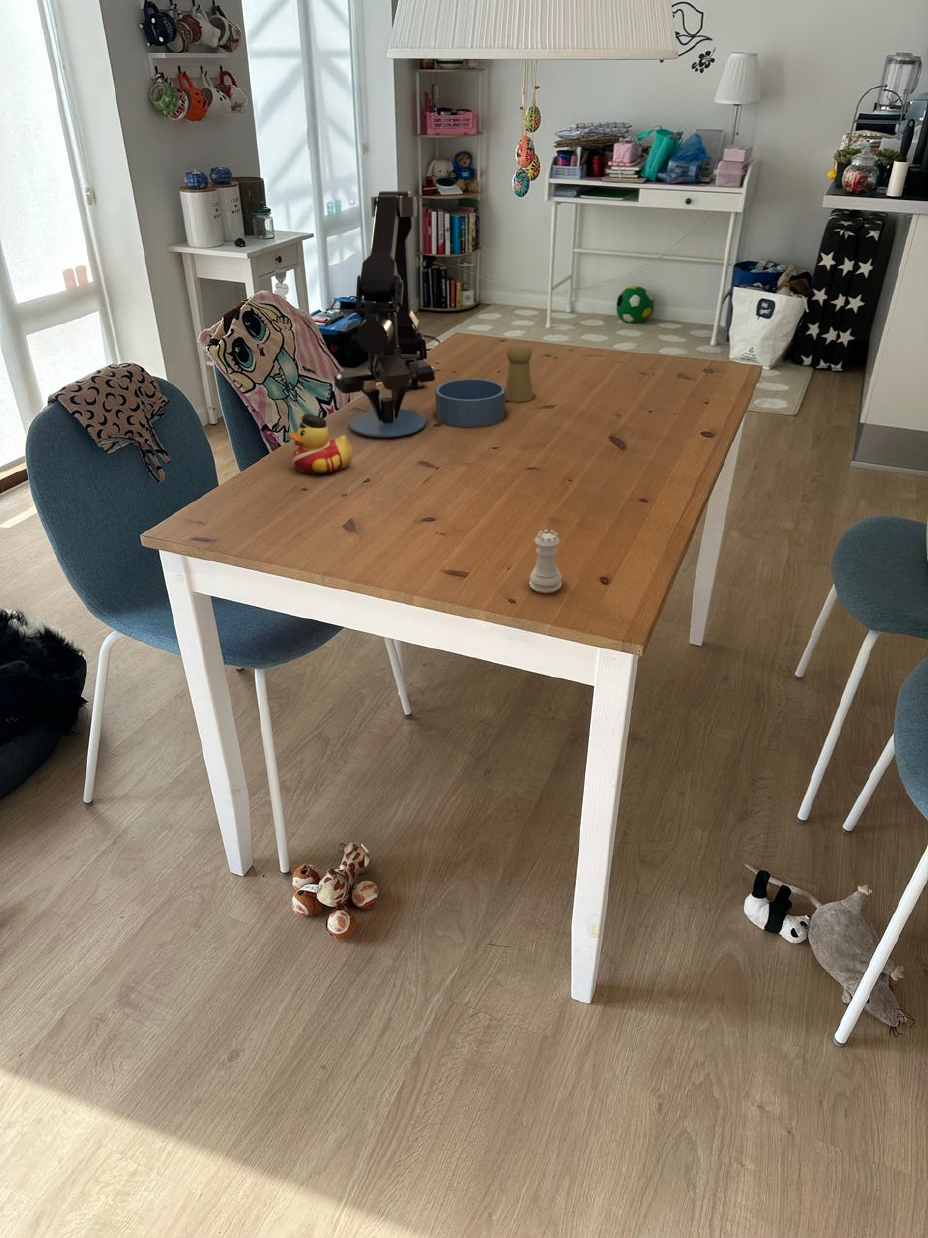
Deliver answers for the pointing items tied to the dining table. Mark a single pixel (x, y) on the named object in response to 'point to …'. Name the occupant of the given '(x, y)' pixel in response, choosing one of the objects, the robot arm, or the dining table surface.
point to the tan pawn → (519, 374)
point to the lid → (387, 422)
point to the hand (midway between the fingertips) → (387, 419)
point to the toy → (318, 447)
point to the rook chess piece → (546, 564)
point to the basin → (470, 402)
